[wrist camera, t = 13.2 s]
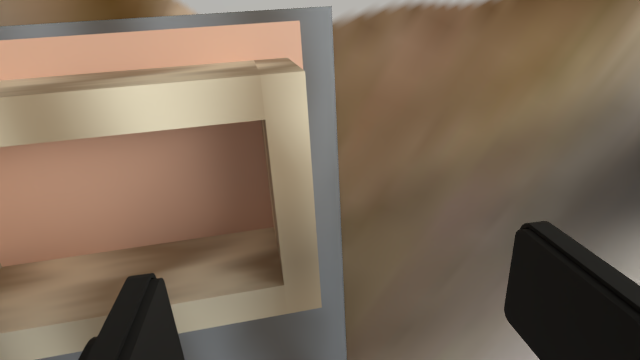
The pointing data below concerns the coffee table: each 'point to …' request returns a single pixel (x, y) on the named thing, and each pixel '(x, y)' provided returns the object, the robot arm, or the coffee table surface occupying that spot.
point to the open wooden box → (180, 256)
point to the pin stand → (177, 164)
